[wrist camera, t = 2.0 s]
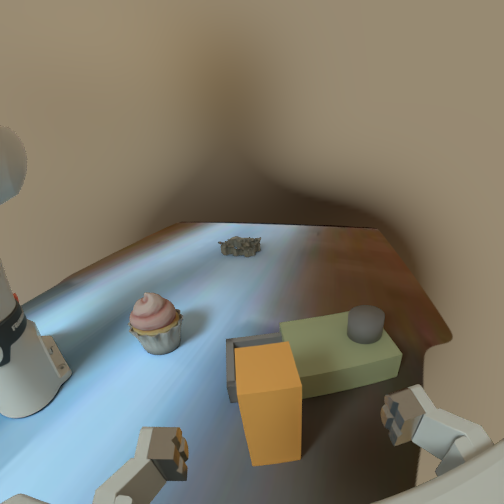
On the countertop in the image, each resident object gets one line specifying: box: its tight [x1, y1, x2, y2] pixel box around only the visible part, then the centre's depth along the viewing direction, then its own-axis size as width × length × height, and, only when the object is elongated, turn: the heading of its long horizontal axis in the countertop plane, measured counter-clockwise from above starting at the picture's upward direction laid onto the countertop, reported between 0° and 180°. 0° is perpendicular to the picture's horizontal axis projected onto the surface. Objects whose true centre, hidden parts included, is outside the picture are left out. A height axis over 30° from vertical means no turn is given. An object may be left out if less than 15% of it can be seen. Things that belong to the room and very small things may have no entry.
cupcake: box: [128, 292, 183, 355], centre depth 46 cm, size 9×9×10 cm
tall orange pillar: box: [234, 341, 302, 466], centre depth 26 cm, size 6×5×12 cm
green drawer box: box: [226, 305, 402, 403], centre depth 39 cm, size 12×22×7 cm, turn 94°
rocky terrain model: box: [218, 236, 261, 257], centre depth 85 cm, size 11×8×4 cm
